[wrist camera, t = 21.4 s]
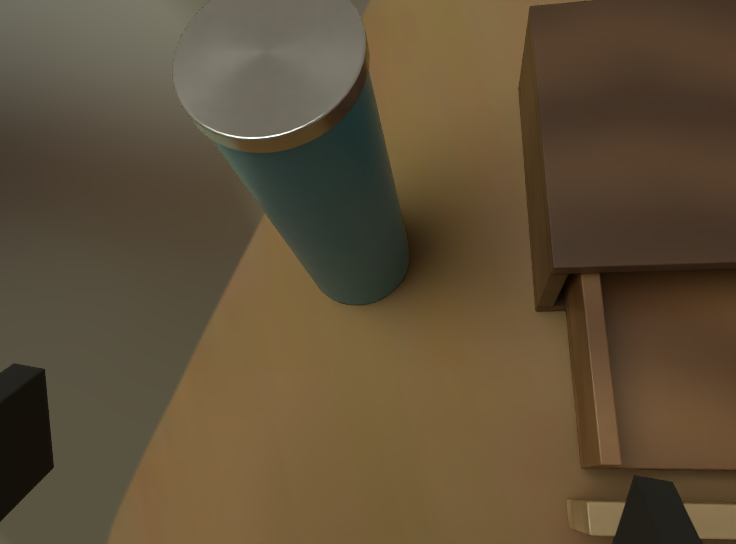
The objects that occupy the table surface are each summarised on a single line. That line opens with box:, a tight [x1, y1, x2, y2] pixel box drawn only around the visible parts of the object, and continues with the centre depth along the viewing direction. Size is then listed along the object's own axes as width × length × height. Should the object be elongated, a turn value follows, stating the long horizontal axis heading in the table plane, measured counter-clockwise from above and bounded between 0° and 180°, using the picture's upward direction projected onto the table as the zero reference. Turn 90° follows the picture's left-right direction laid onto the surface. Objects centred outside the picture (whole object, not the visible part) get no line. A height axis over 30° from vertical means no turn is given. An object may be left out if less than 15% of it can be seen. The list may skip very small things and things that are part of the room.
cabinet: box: [518, 0, 736, 311], centre depth 30 cm, size 14×12×7 cm
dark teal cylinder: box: [172, 0, 409, 305], centre depth 26 cm, size 6×6×17 cm
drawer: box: [564, 268, 736, 540], centre depth 25 cm, size 17×11×5 cm, turn 179°
